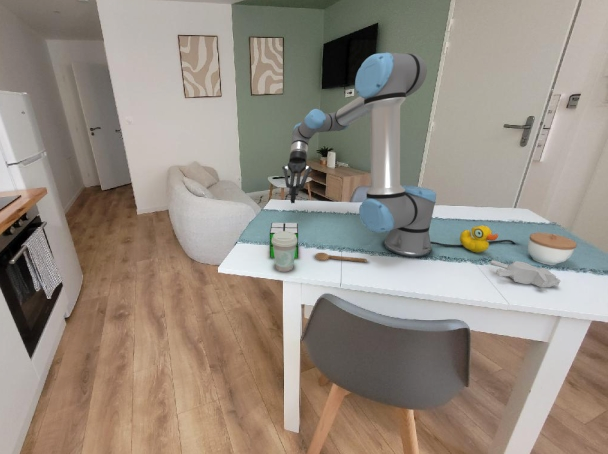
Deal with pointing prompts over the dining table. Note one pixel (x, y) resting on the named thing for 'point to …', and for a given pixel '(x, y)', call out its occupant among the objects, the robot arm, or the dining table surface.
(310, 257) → the dining table surface
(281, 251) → the coffee cup
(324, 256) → the wooden spoon
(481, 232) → the duckling
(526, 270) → the bunny figurine
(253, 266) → the dining table surface
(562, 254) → the trinket box
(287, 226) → the puzzle cube
